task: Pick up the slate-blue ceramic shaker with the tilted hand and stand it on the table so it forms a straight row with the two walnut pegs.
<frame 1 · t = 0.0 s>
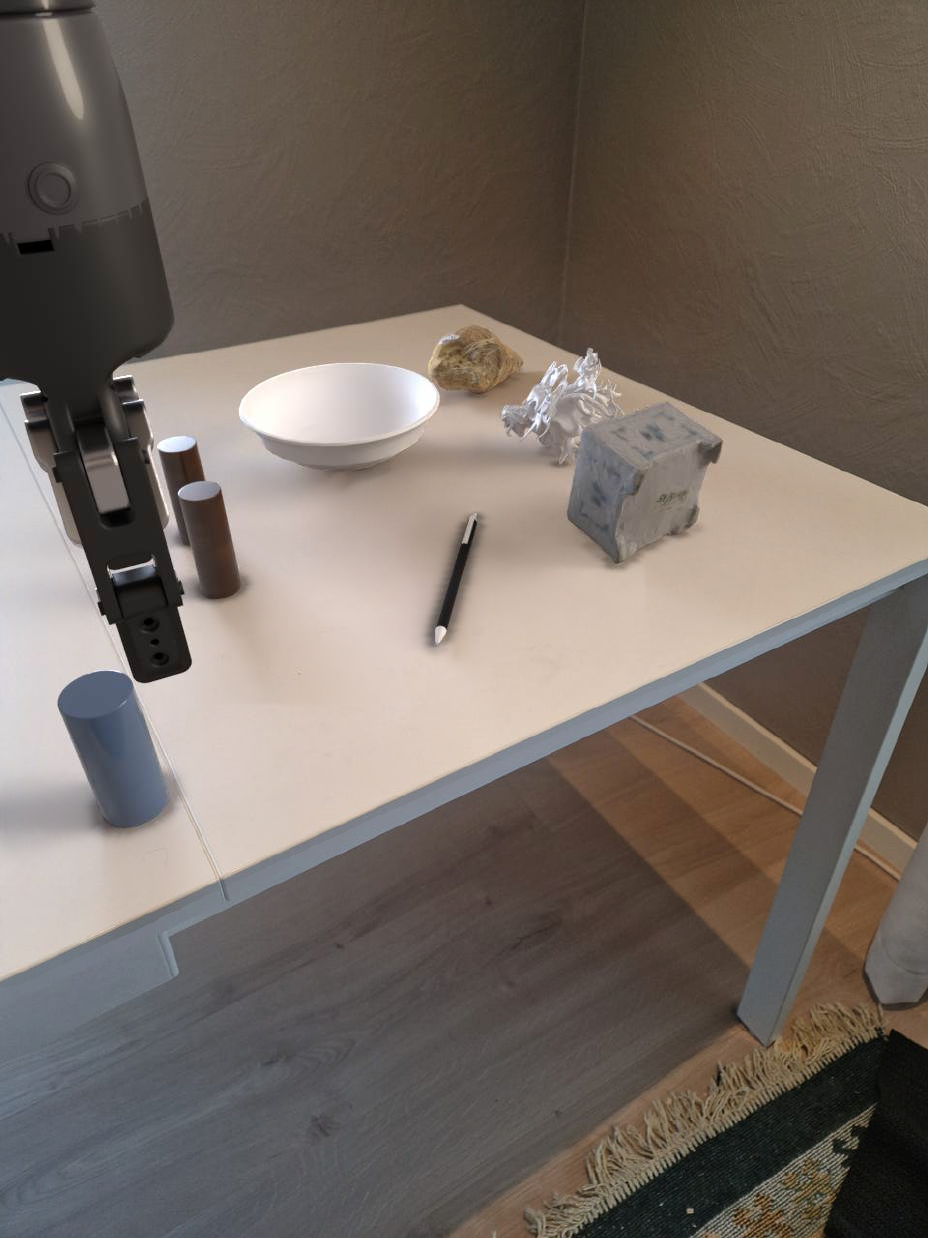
hand: (145, 613, 36), 19 cm above the table, tool pointing down, fingers open, 8 cm apart
pen: (457, 579, 72), on the table
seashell: (477, 389, 103), on the table
figurine: (579, 453, 90), on the table
bowl: (346, 458, 90), on the table
shaker: (135, 801, 53), on the table
pegs: (209, 560, 74), on the table
incense holder: (635, 535, 77), on the table
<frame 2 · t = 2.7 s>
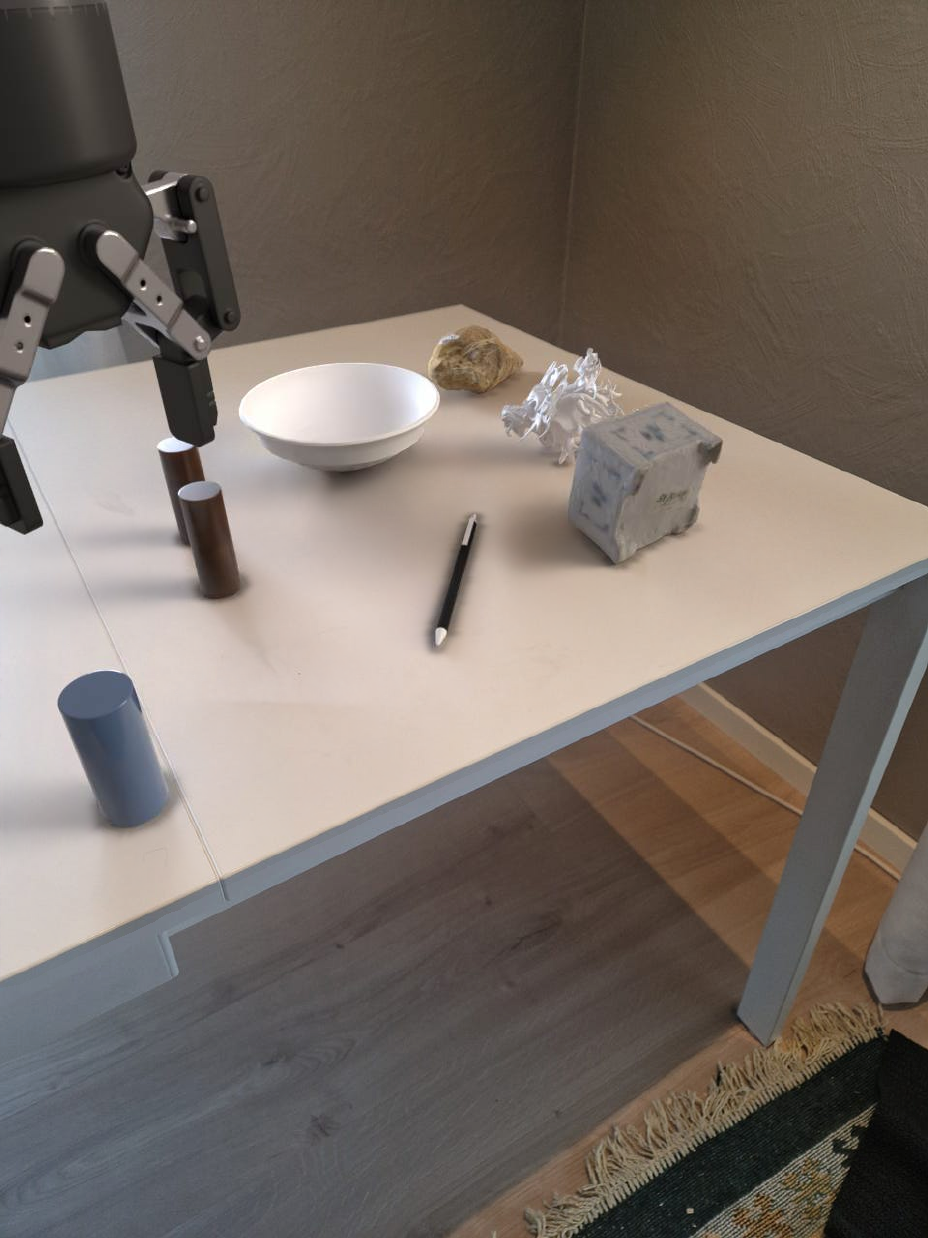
hand: (113, 480, 35), 24 cm above the table, tool pointing down, fingers open, 8 cm apart
nothing on the table moved.
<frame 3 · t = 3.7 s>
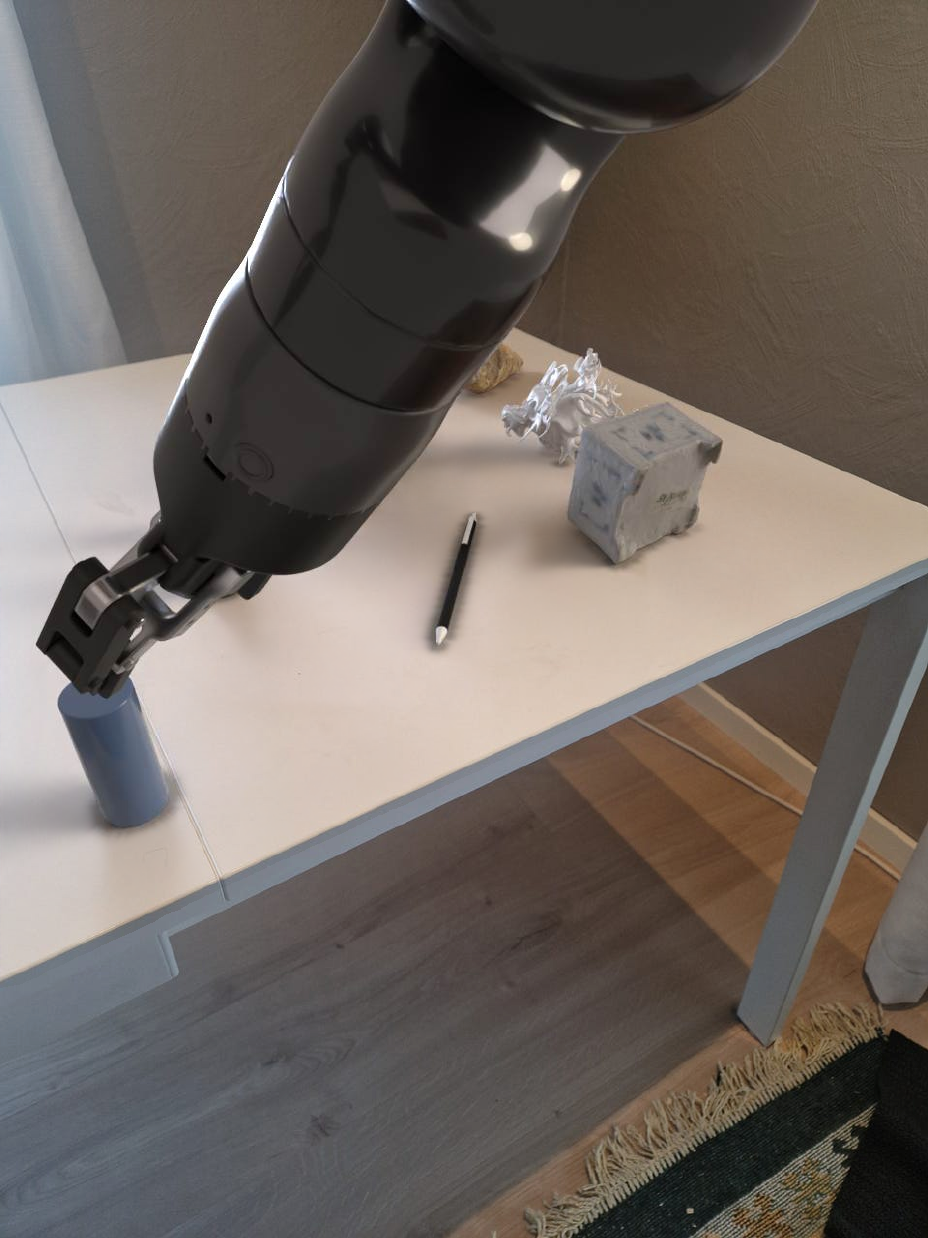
hand: (170, 627, 40), 17 cm above the table, tool tilted 40°, fingers open, 8 cm apart
nothing on the table moved.
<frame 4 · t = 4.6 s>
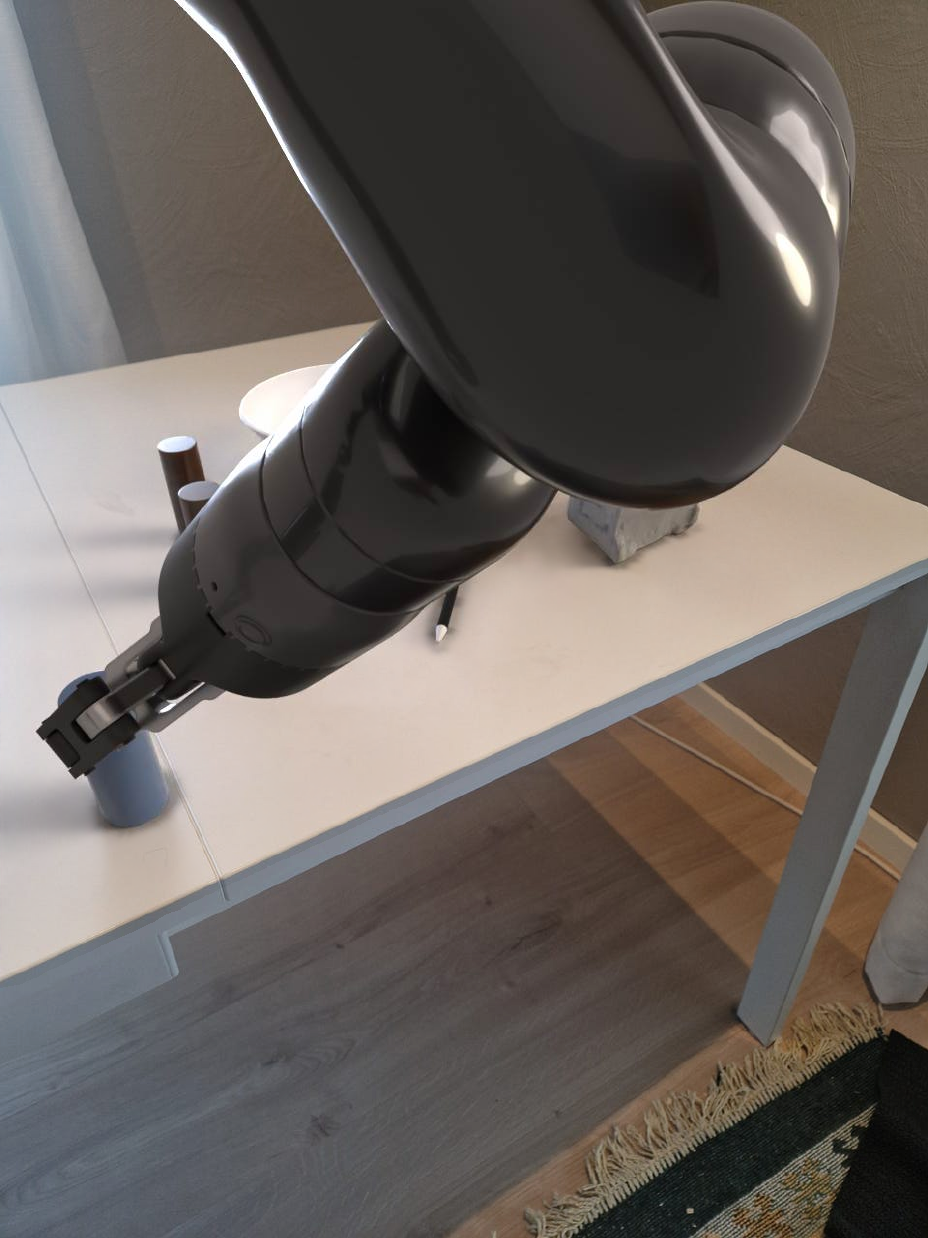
hand: (161, 687, 42), 13 cm above the table, tool tilted 45°, fingers open, 8 cm apart
nothing on the table moved.
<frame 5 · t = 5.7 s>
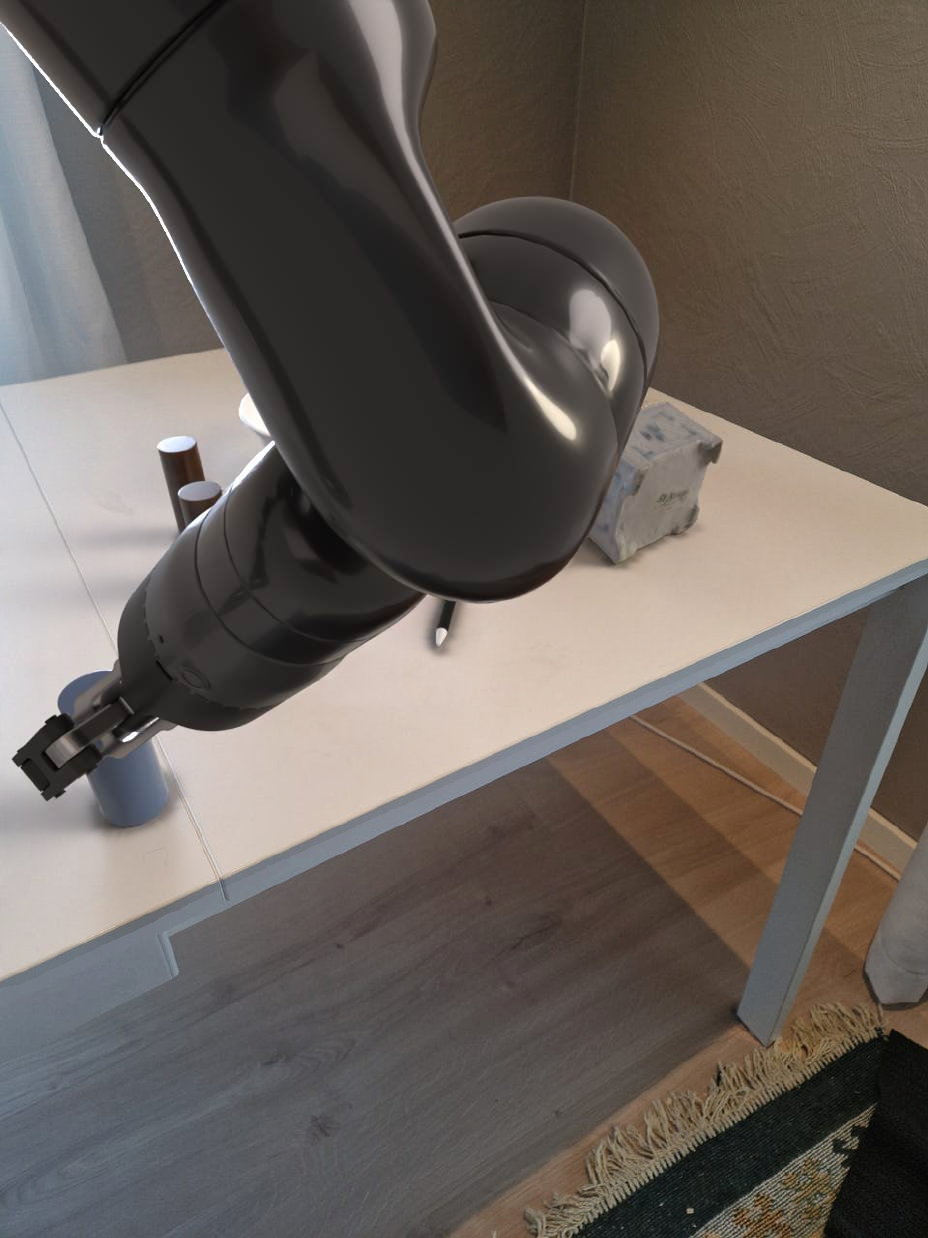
hand: (130, 713, 46), 9 cm above the table, tool tilted 45°, fingers open, 8 cm apart
nothing on the table moved.
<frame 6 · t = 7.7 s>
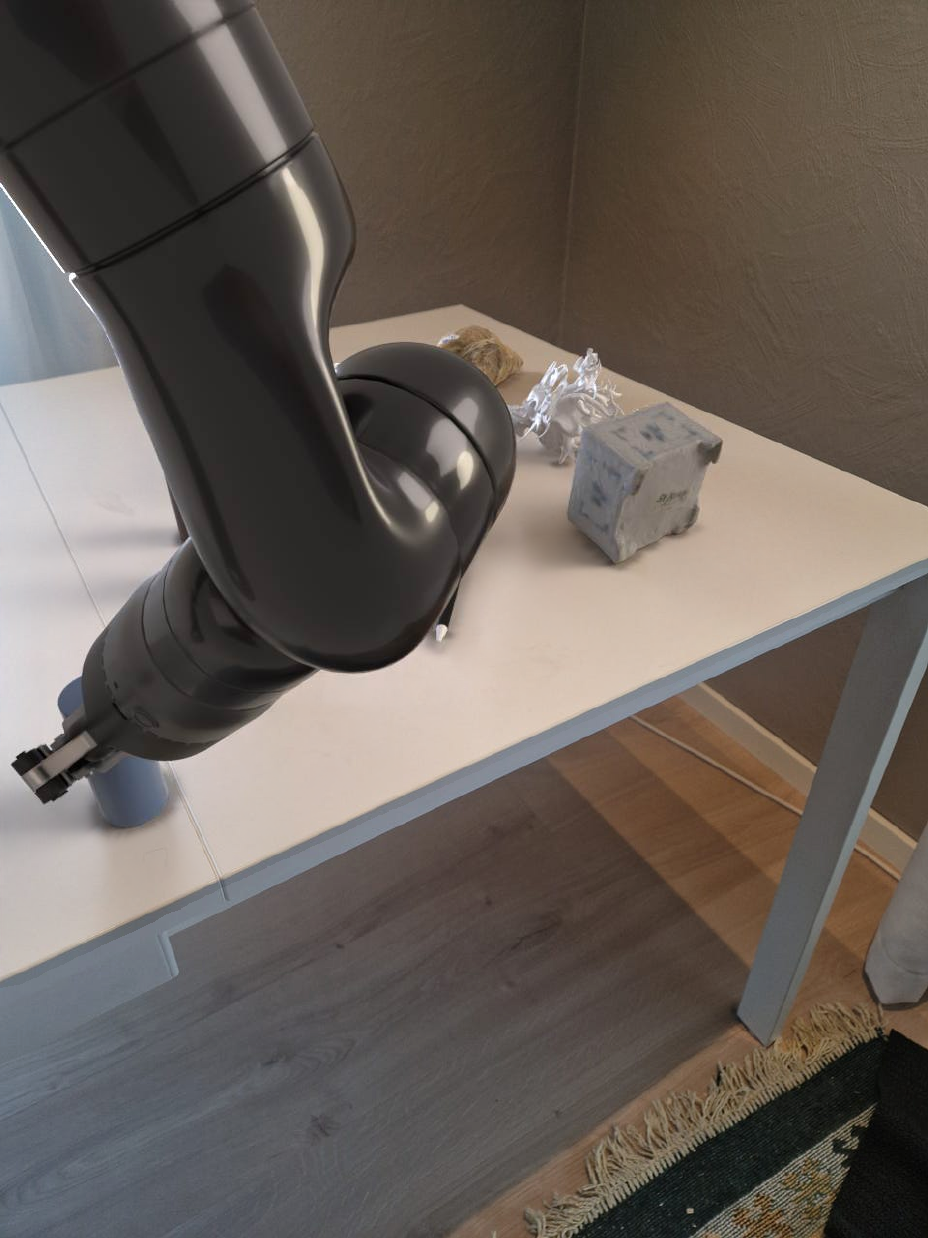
hand: (97, 742, 51), 4 cm above the table, tool tilted 45°, fingers closed on shaker, 4 cm apart
shaker: (135, 801, 53), on the table, touching gripper
everything else where it was.
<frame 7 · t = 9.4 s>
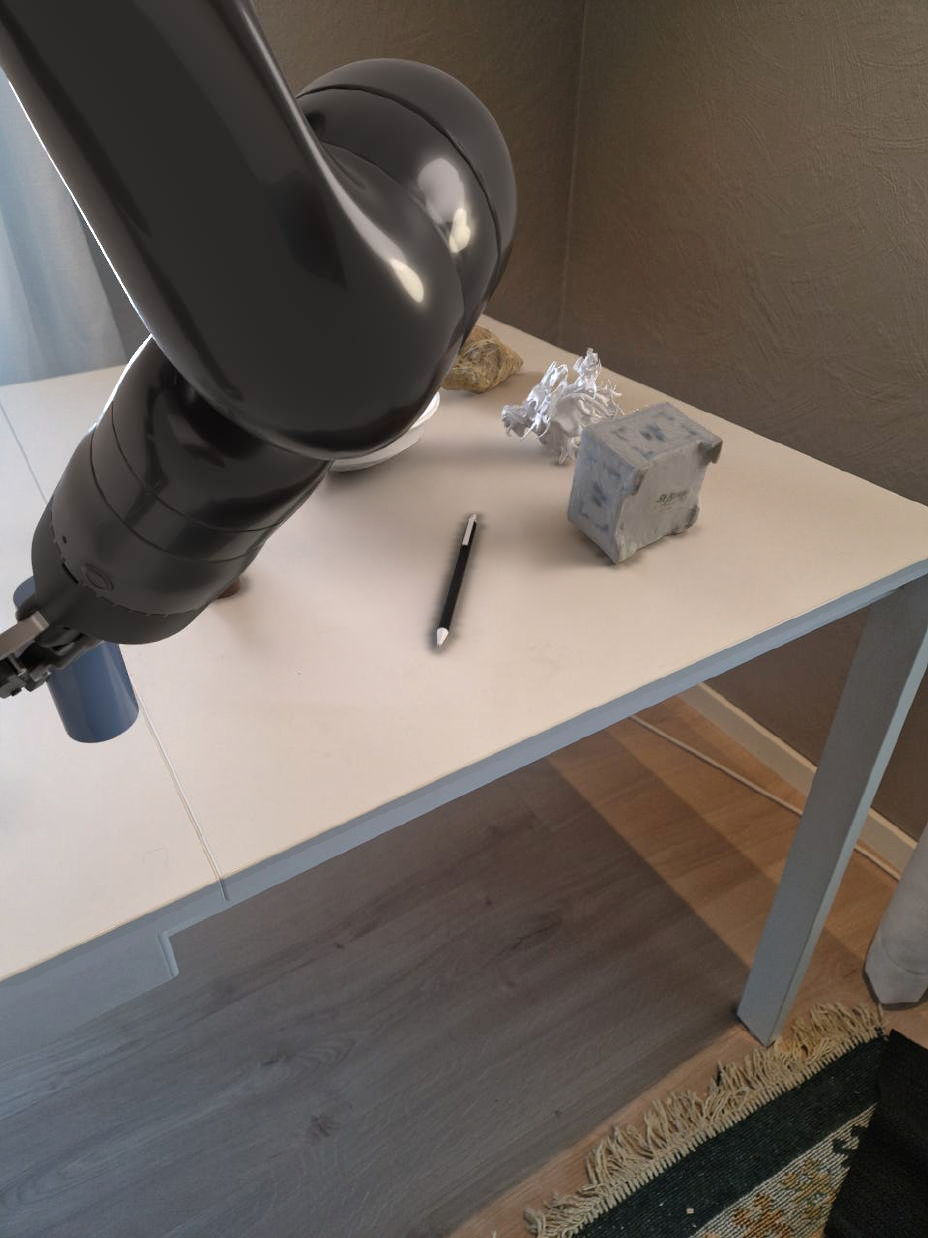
hand: (60, 650, 47), 11 cm above the table, tool tilted 45°, fingers closed on shaker, 4 cm apart
shaker: (102, 718, 49), point 7 cm above the table, touching gripper
everything else where it was.
when the fingers open (4 cm above the table, at t = 15.9 s): shaker stays where it is, on the table.
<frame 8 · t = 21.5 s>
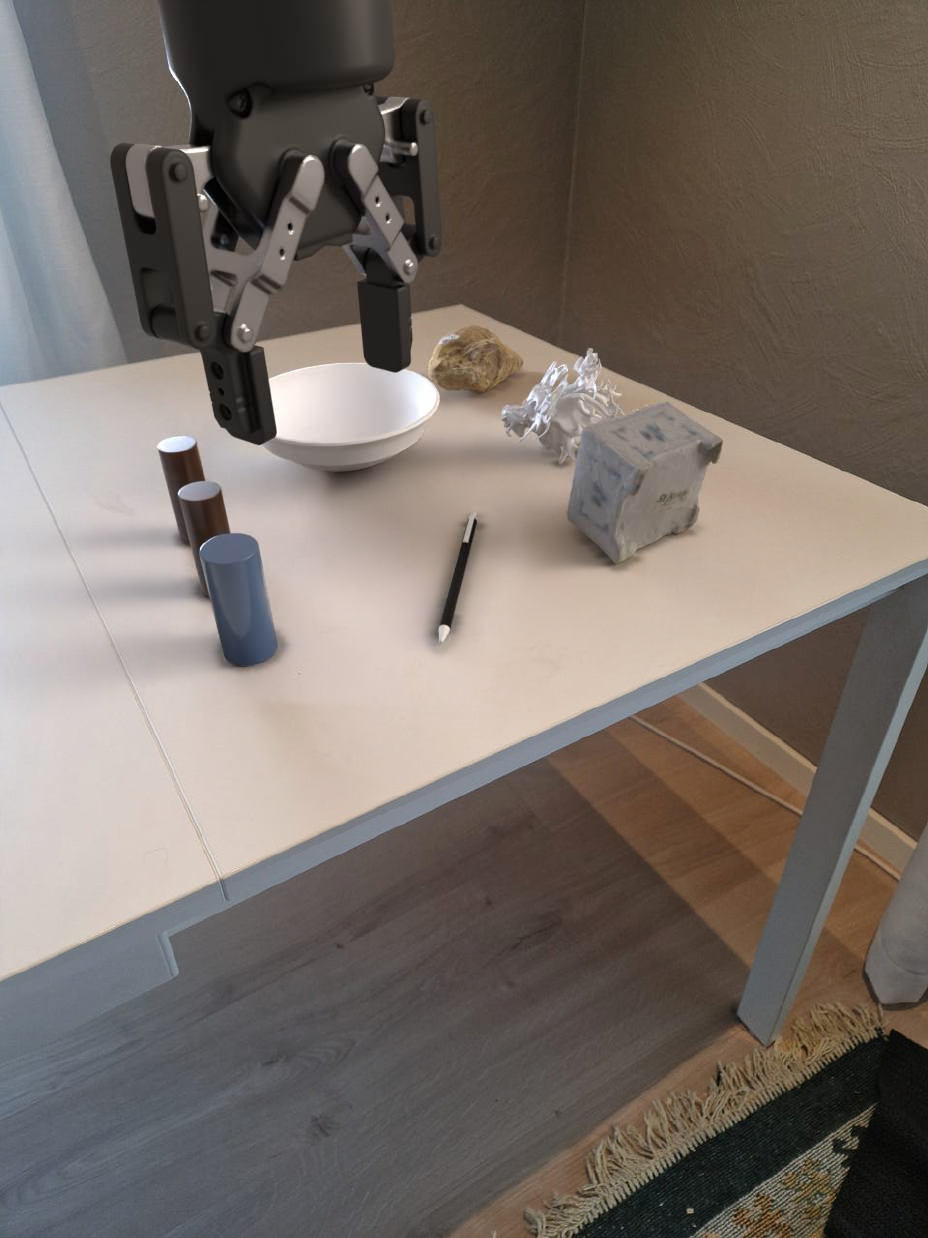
hand: (324, 400, 36), 26 cm above the table, tool pointing down, fingers open, 8 cm apart
shaker: (250, 649, 65), on the table
everything else where it was.
at the end: shaker 0.1 cm from the target spot on the table beside the pegs, on the table; shaker tilted 0°; the gripper is holding nothing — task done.
